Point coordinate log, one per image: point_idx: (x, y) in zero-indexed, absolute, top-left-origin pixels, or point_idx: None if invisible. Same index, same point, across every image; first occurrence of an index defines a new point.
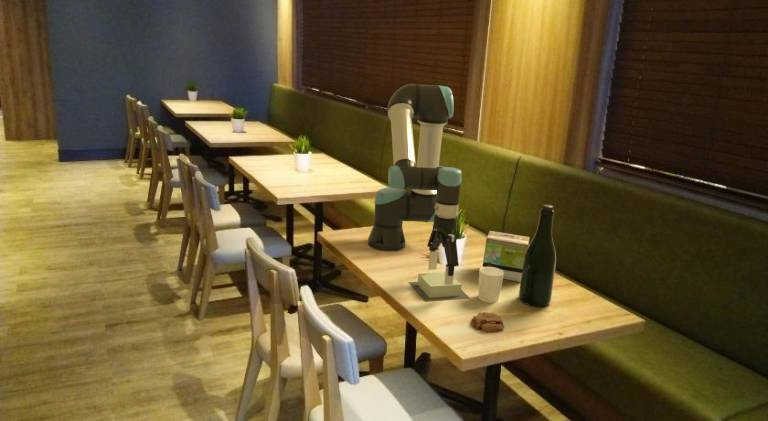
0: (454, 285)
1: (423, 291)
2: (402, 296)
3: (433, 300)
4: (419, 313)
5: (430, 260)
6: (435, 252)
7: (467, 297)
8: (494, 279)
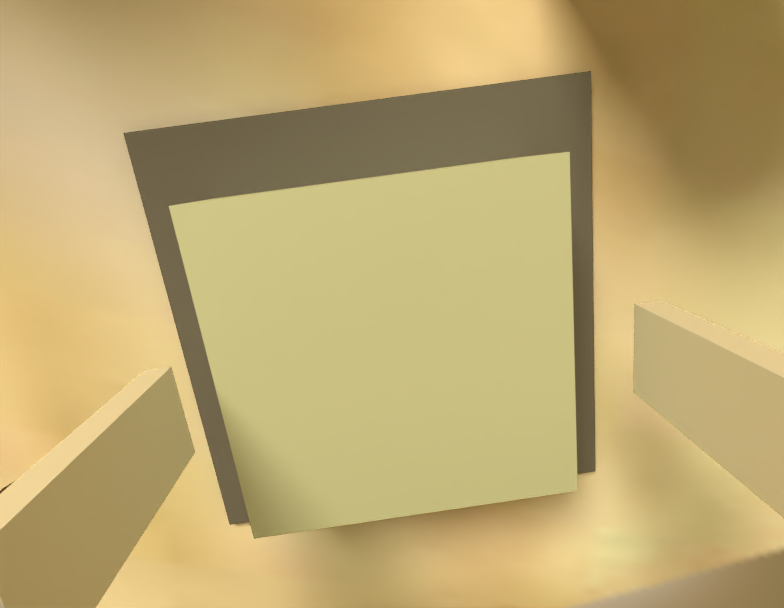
0: (568, 242)
1: None
2: (472, 586)
3: (585, 411)
4: (740, 530)
5: (136, 533)
6: (16, 584)
7: (569, 97)
8: None
